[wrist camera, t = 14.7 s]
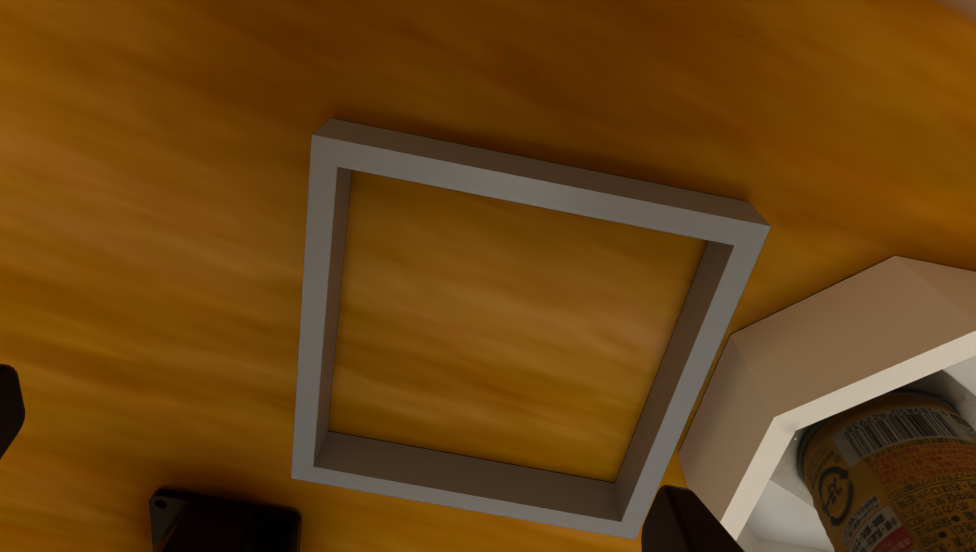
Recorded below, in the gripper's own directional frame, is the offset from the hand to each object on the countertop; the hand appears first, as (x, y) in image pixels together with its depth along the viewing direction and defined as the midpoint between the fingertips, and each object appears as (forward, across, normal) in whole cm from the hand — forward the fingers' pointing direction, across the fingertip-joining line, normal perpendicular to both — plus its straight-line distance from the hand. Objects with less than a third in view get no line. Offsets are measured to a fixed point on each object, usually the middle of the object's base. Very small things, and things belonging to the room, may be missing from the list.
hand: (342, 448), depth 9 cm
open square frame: (+13, -3, +6) cm, 15 cm away
